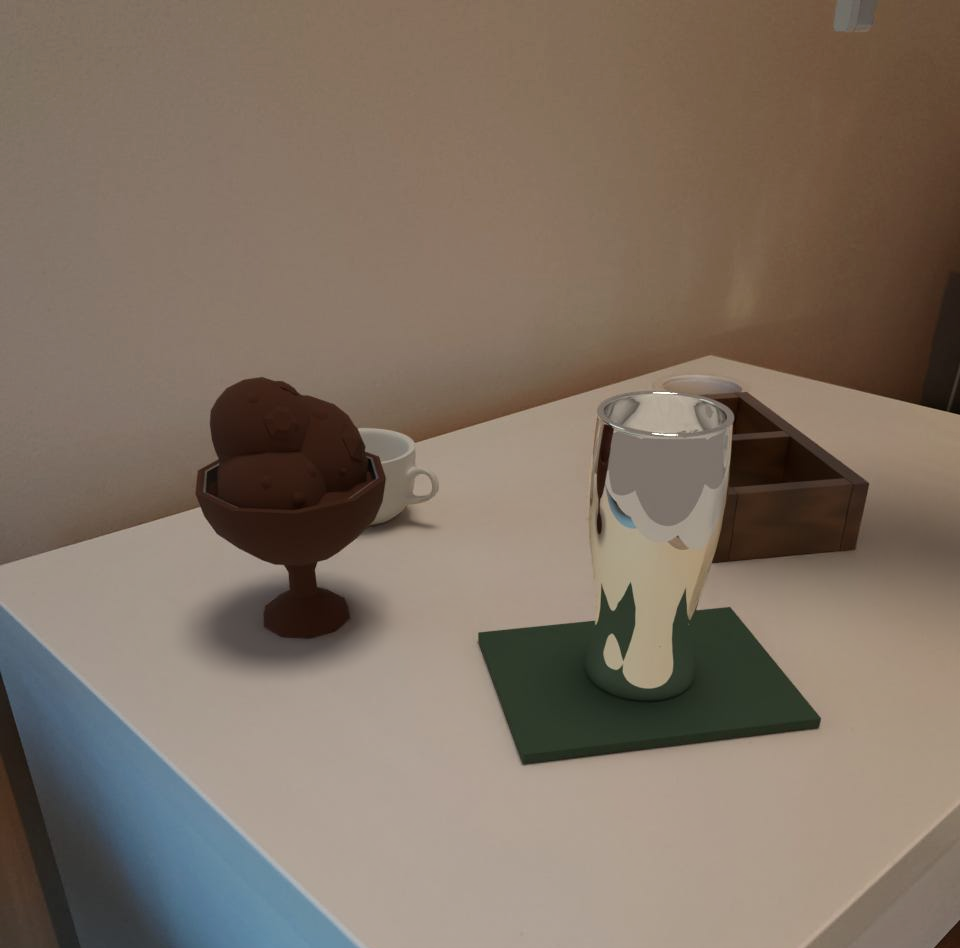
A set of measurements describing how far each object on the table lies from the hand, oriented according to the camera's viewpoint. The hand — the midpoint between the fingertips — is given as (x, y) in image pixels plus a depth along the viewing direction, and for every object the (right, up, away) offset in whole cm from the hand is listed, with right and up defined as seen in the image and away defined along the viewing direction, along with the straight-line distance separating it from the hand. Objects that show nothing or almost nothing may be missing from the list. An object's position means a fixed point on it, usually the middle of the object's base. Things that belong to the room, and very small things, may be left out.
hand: (928, 31), depth 56 cm
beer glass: (-16, -36, 0) cm, 40 cm away
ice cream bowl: (-36, -33, +6) cm, 49 cm away
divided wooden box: (-6, -23, +21) cm, 32 cm away
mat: (-17, -37, 0) cm, 40 cm away
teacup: (-33, -25, +19) cm, 46 cm away
